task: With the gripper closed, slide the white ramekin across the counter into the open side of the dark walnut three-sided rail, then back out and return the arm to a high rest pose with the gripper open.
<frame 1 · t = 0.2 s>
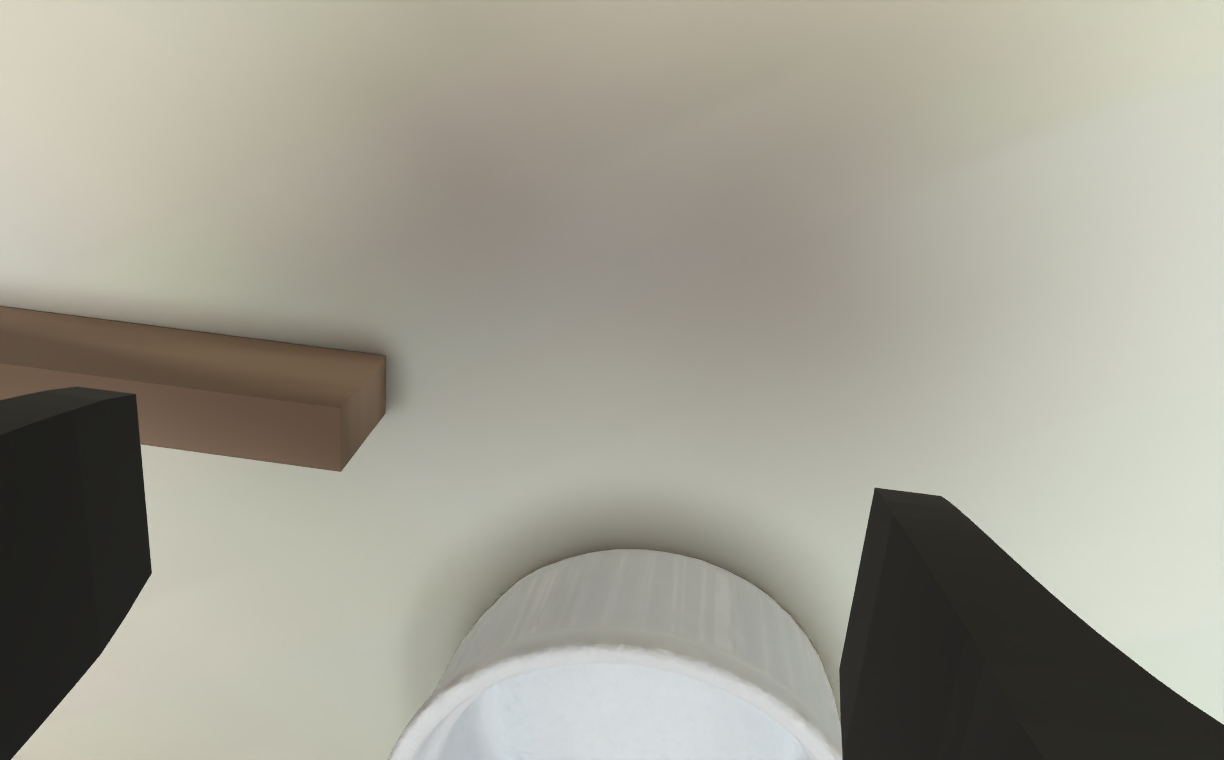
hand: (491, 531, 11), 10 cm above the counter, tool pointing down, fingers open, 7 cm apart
ramekin: (643, 696, 24), on the counter
walnut rail: (140, 631, 24), on the counter
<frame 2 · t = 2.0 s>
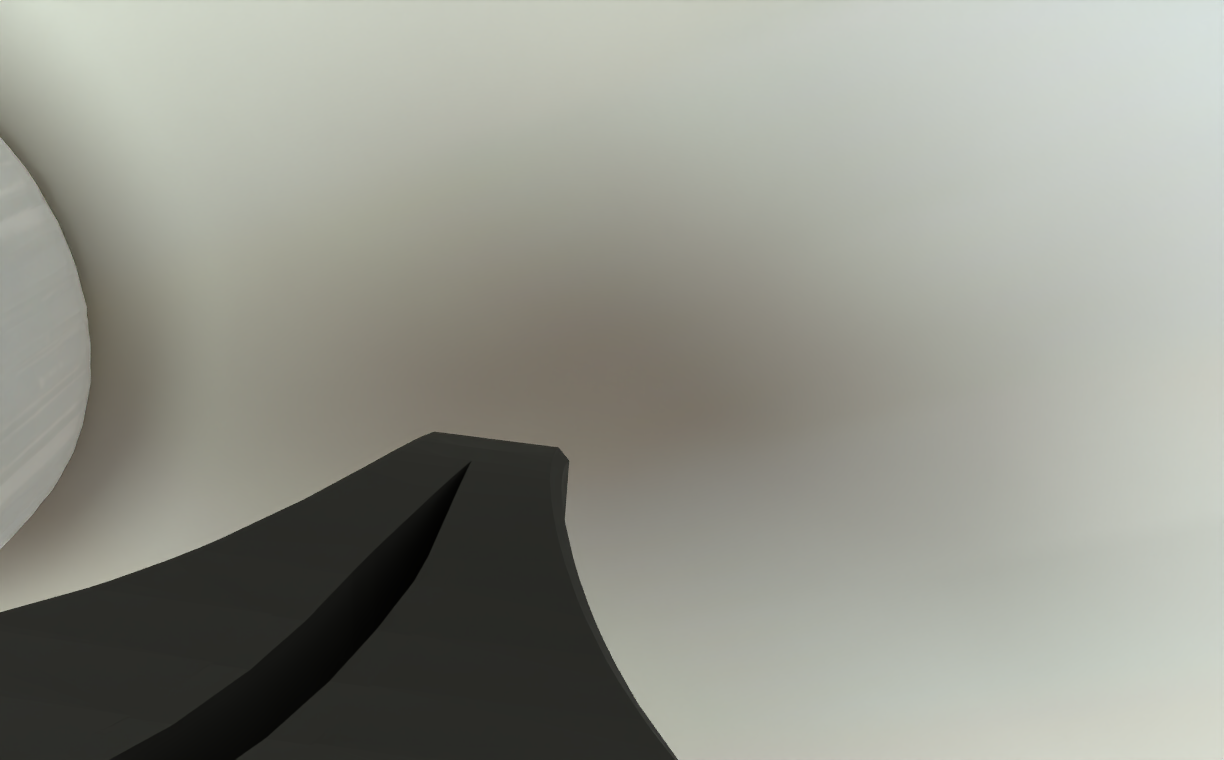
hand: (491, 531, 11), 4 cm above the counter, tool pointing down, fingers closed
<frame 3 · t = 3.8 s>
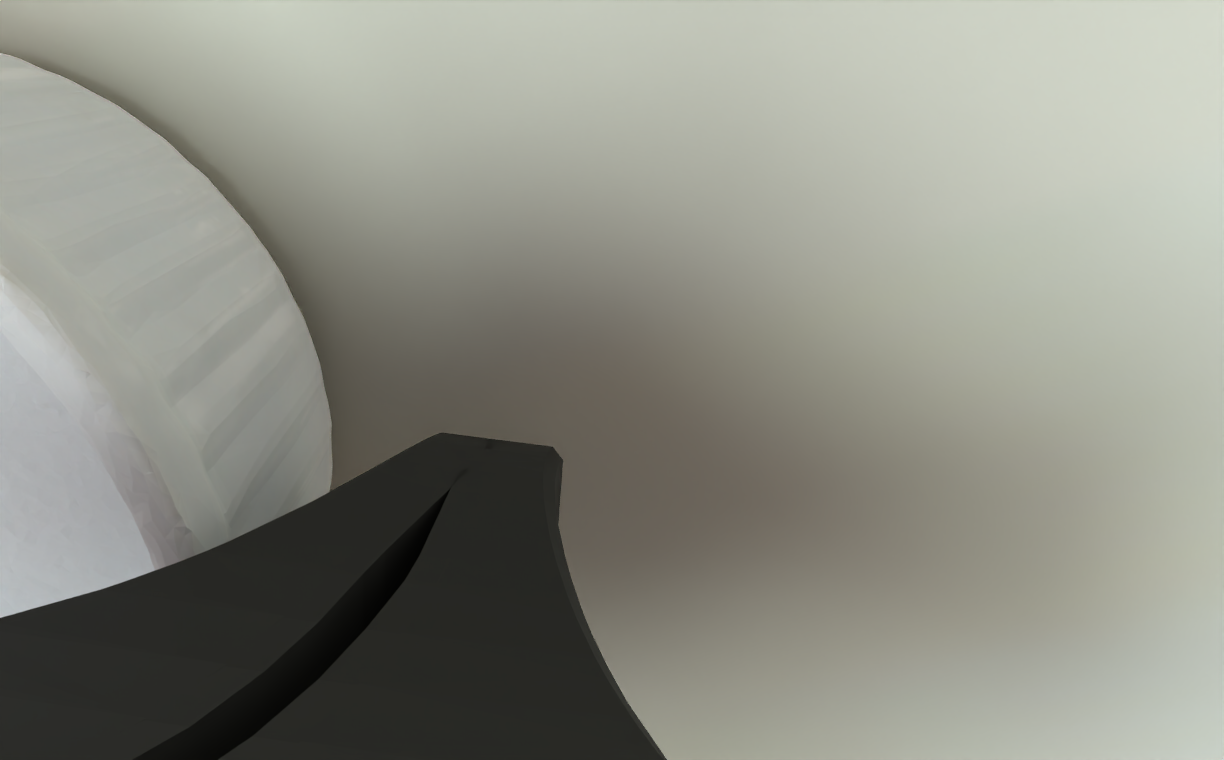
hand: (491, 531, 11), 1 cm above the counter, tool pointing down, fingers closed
ramekin: (16, 393, 13), on the counter, touching gripper
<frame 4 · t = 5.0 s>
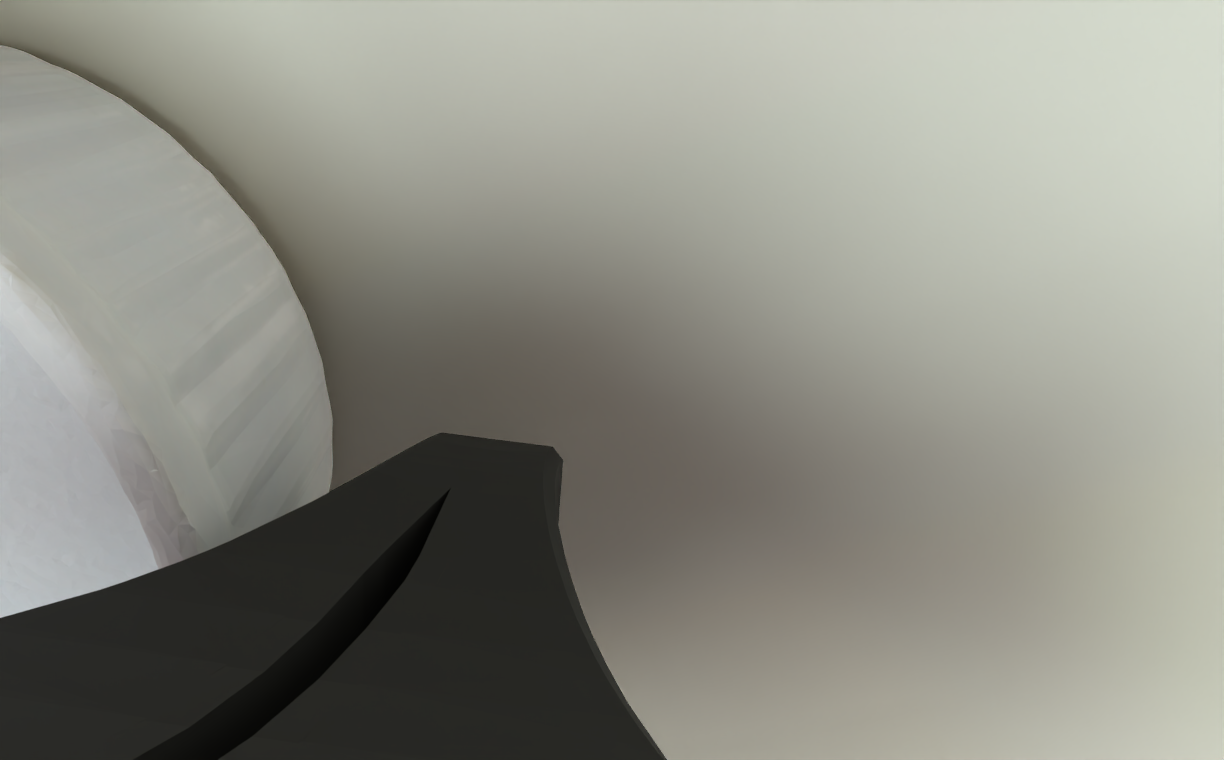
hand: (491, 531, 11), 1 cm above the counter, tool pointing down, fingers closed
ramekin: (16, 387, 13), on the counter, touching gripper
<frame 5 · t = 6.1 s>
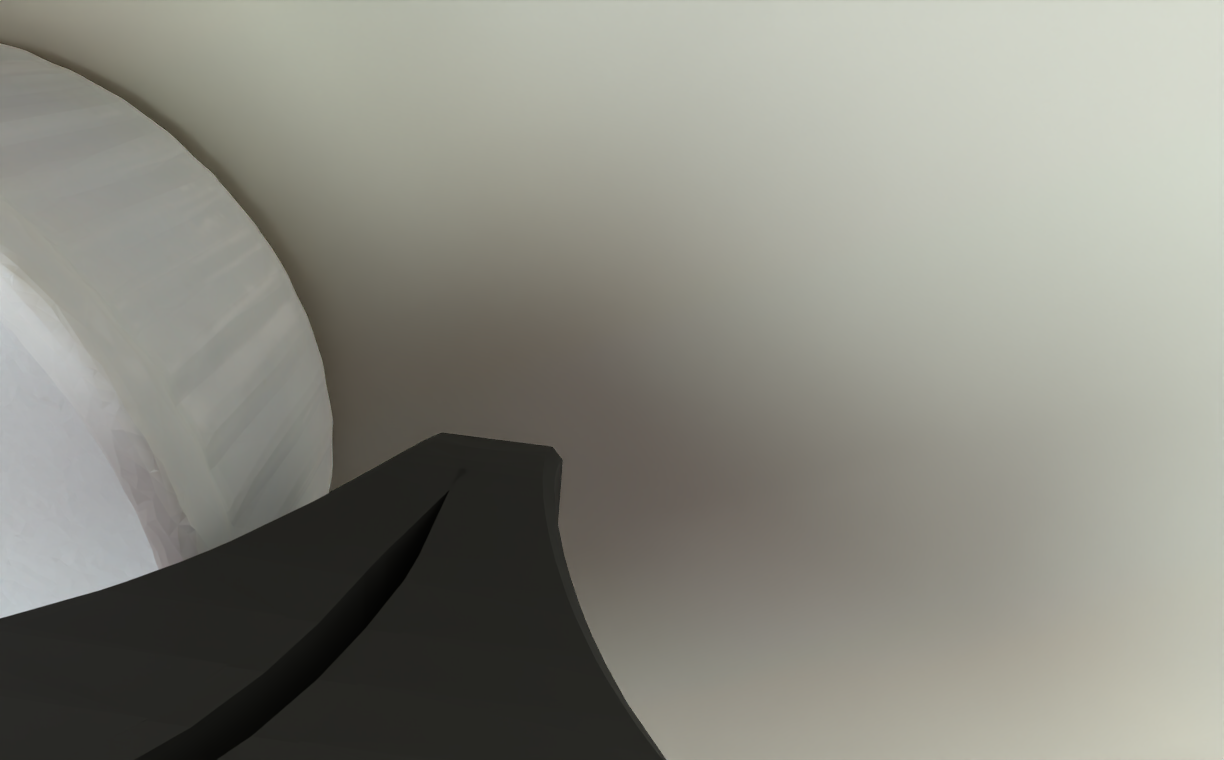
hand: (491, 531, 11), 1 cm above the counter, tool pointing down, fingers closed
ramekin: (16, 385, 13), on the counter, touching gripper
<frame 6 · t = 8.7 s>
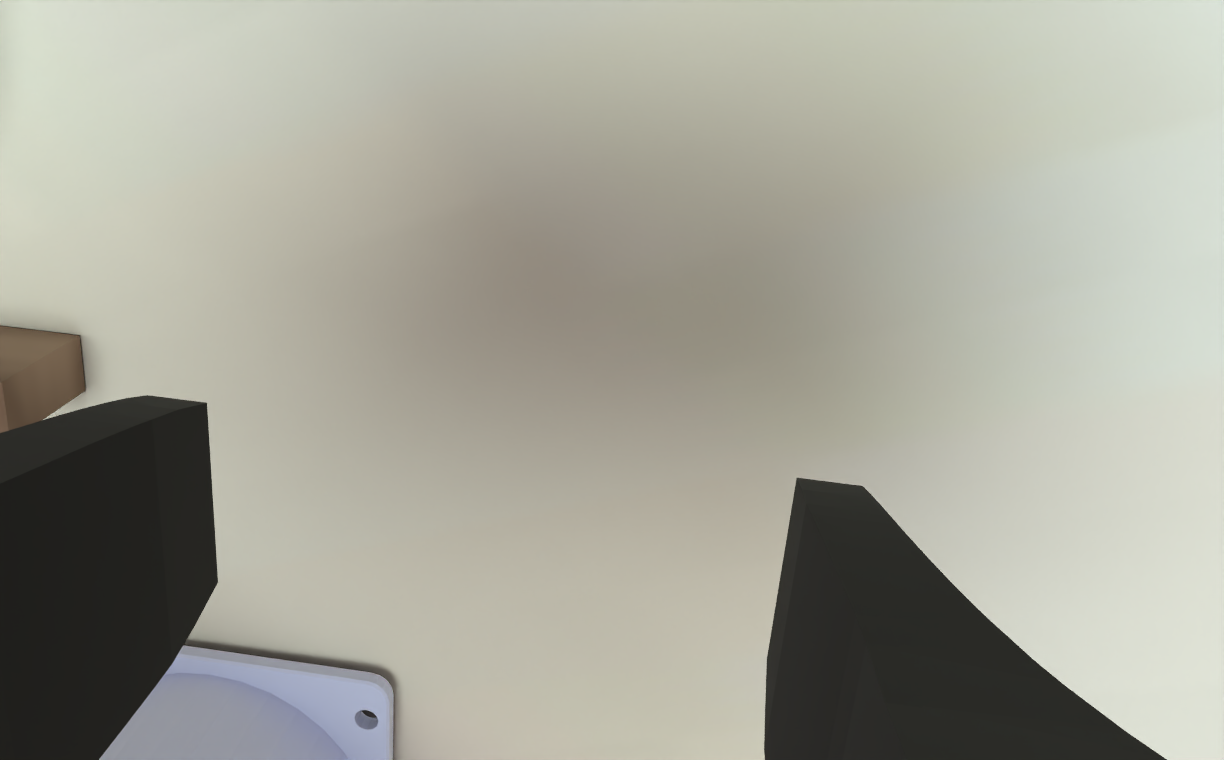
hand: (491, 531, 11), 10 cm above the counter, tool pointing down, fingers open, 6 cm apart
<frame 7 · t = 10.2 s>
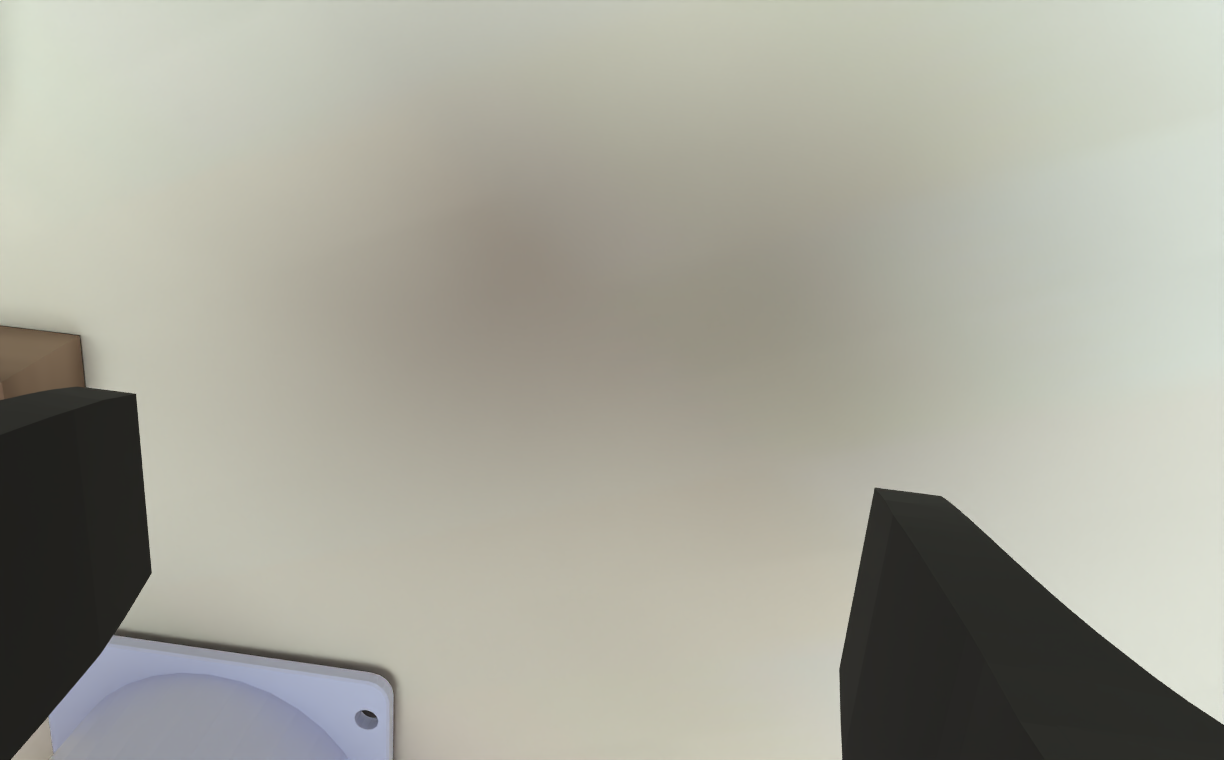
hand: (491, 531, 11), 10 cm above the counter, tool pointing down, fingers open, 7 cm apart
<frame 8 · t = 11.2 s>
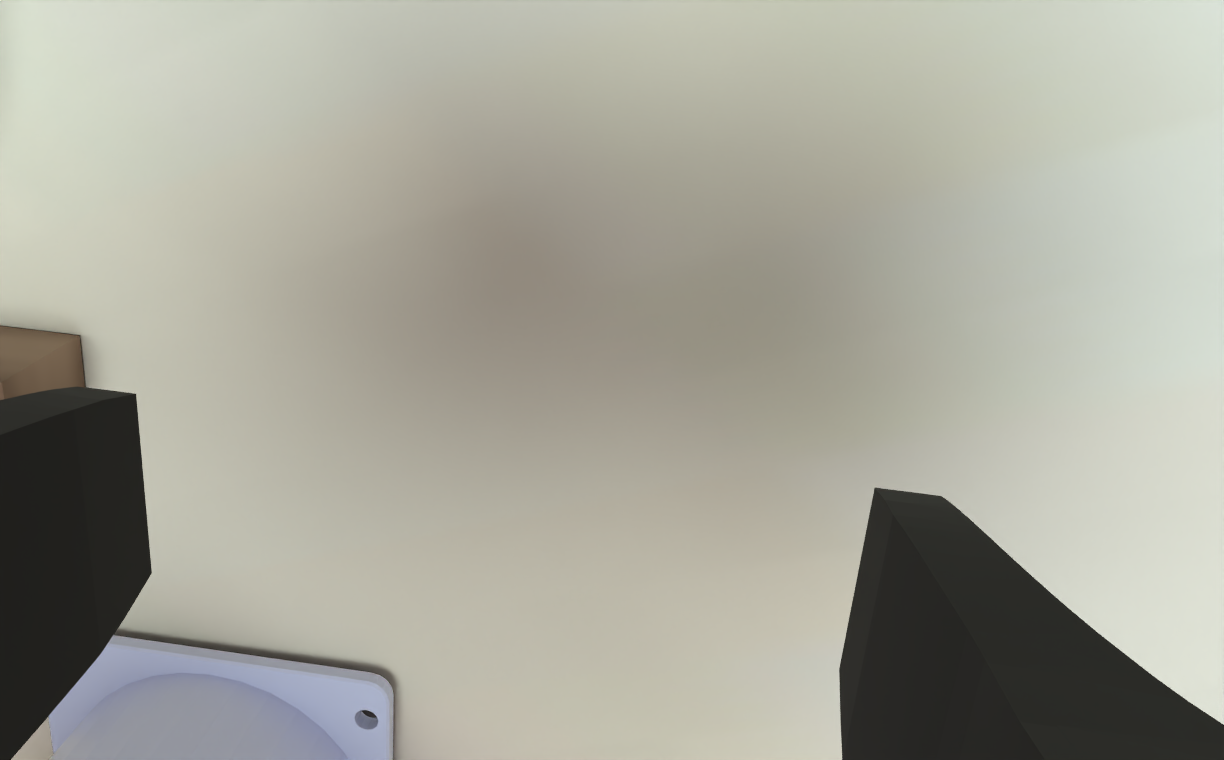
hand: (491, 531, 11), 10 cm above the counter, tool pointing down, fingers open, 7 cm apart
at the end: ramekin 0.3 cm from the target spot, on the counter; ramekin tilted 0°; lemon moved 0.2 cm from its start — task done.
